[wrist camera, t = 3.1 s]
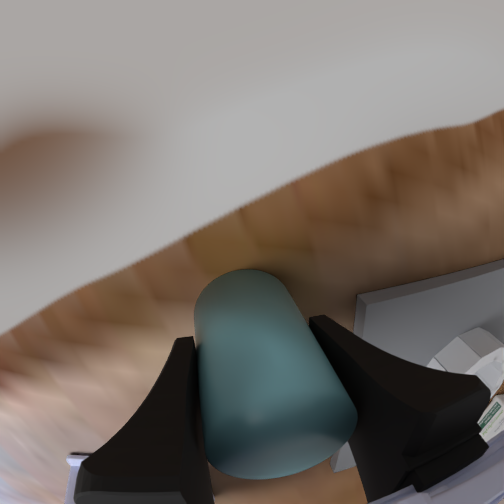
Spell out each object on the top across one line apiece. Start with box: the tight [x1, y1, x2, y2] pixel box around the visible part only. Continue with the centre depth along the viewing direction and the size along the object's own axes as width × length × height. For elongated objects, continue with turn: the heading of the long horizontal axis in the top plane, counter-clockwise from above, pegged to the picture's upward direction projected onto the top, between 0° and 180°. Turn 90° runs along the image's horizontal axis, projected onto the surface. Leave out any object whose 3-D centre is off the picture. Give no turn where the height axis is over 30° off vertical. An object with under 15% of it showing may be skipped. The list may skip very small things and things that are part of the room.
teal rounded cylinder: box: [194, 269, 358, 479], centre depth 11 cm, size 4×4×7 cm
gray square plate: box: [330, 259, 504, 473], centre depth 18 cm, size 17×16×4 cm
